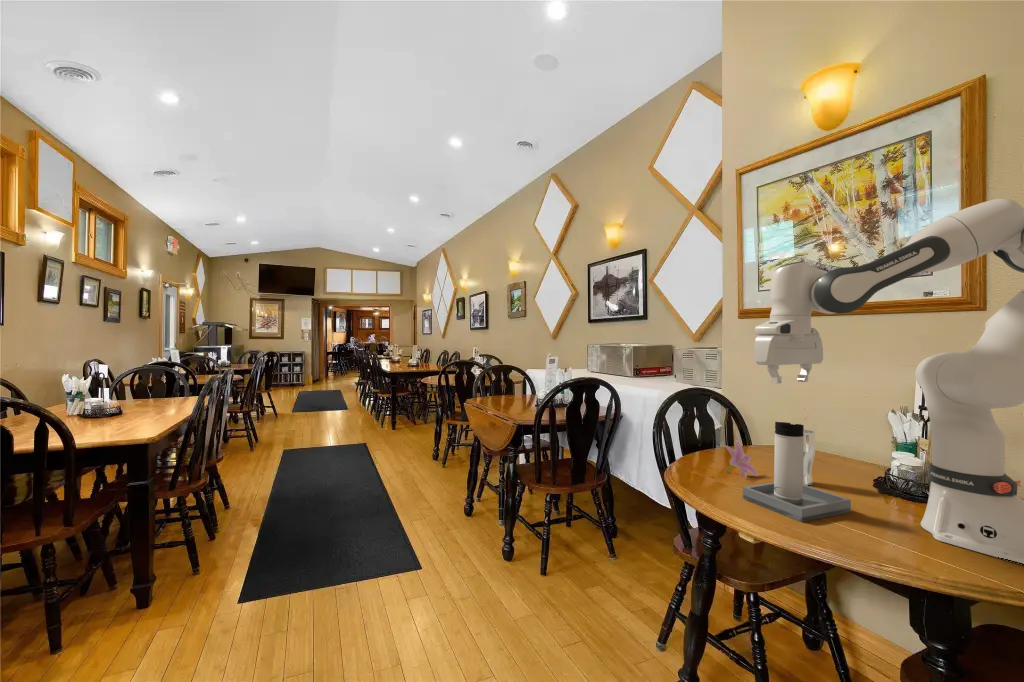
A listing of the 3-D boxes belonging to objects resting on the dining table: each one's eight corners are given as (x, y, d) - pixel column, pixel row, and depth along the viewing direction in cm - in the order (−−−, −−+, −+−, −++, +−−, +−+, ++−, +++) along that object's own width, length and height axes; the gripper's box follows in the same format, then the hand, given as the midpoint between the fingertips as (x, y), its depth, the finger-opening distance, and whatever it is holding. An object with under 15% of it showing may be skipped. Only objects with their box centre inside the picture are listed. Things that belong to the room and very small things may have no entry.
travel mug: (770, 500, 114) (771, 421, 114) (777, 493, 119) (778, 417, 119) (799, 507, 110) (800, 424, 110) (805, 500, 115) (806, 421, 114)
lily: (722, 483, 134) (740, 458, 130) (704, 458, 145) (720, 434, 141) (755, 493, 136) (774, 468, 133) (735, 467, 147) (752, 444, 144)
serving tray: (850, 512, 110) (850, 499, 109) (801, 522, 103) (801, 509, 103) (788, 490, 124) (788, 479, 124) (742, 498, 118) (742, 487, 118)
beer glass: (820, 486, 128) (821, 433, 128) (795, 486, 128) (796, 433, 128) (804, 478, 135) (805, 428, 135) (781, 478, 135) (782, 428, 135)
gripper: (806, 328, 121) (806, 379, 121) (749, 327, 113) (749, 382, 113) (830, 327, 115) (830, 382, 115) (772, 327, 107) (772, 385, 108)
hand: (789, 382), depth 114 cm, fingers open, 8 cm apart
